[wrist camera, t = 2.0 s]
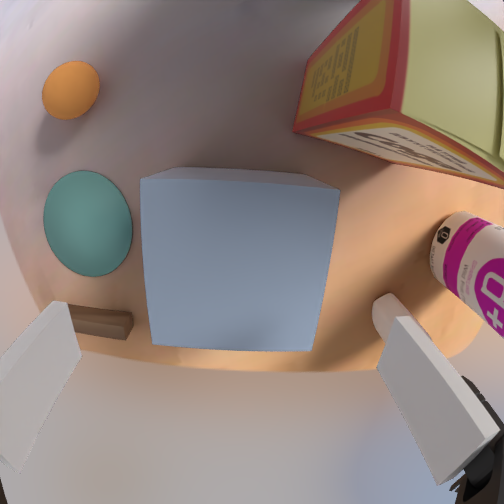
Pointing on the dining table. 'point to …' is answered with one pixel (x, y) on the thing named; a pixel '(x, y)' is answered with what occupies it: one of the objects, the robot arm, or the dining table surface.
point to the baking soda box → (411, 87)
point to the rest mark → (88, 223)
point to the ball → (70, 90)
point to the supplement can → (472, 264)
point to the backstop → (101, 322)
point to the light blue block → (235, 257)
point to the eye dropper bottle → (389, 314)
